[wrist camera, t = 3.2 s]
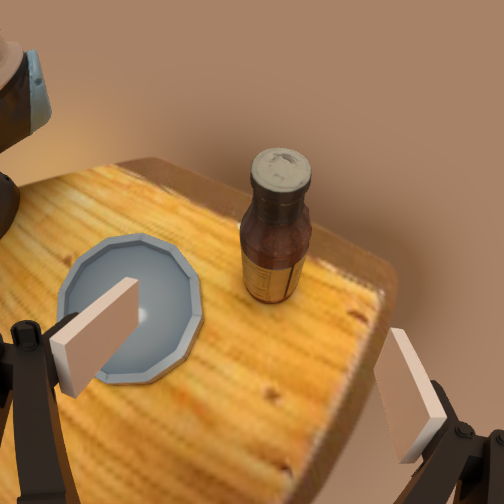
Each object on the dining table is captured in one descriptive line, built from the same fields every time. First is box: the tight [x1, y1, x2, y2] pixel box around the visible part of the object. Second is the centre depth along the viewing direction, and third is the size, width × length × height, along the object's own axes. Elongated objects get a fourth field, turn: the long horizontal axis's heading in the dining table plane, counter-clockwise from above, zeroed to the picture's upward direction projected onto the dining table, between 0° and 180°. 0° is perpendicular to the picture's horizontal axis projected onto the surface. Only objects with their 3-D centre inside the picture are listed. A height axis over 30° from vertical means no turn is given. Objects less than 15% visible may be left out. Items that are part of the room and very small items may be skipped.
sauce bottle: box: [240, 148, 312, 303], centre depth 29 cm, size 6×6×20 cm
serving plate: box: [57, 233, 204, 385], centre depth 35 cm, size 18×18×2 cm
